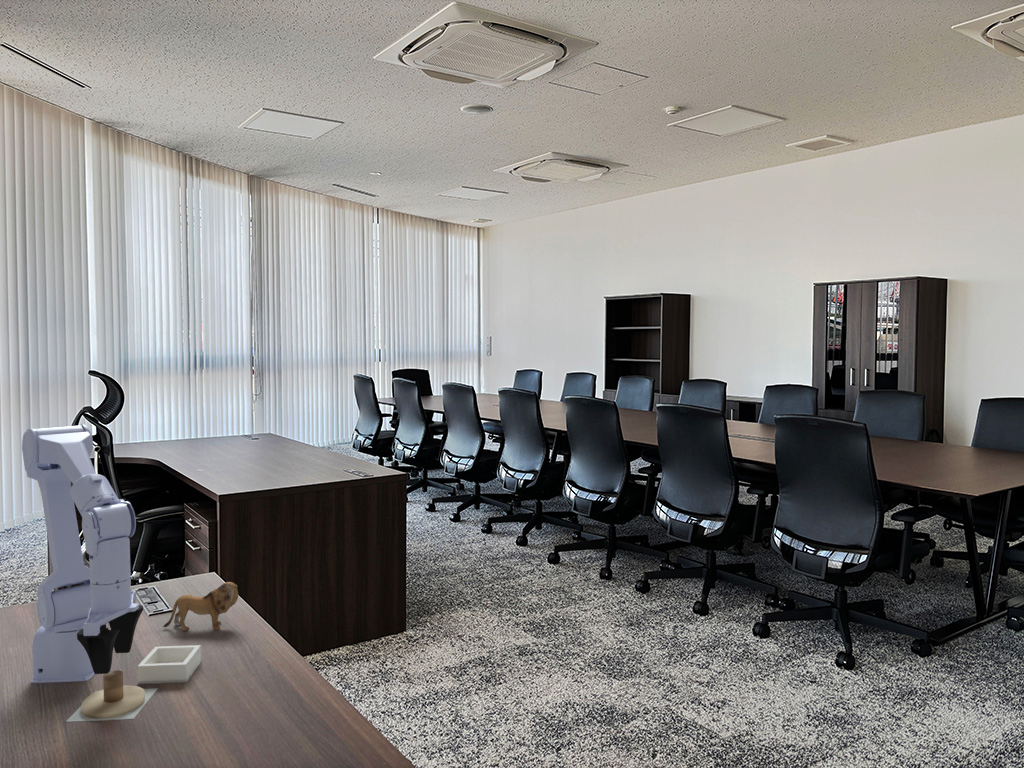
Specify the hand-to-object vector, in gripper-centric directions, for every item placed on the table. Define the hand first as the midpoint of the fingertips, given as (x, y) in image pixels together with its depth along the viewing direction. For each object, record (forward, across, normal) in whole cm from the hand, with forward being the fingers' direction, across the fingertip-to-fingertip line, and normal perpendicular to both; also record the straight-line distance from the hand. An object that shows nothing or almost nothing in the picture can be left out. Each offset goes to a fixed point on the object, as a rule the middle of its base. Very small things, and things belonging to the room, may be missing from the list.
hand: (112, 662), depth 118 cm
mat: (+7, 0, 0) cm, 7 cm away
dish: (+7, +11, -5) cm, 14 cm away
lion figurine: (+8, +33, -4) cm, 34 cm away
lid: (+7, 0, 0) cm, 7 cm away
